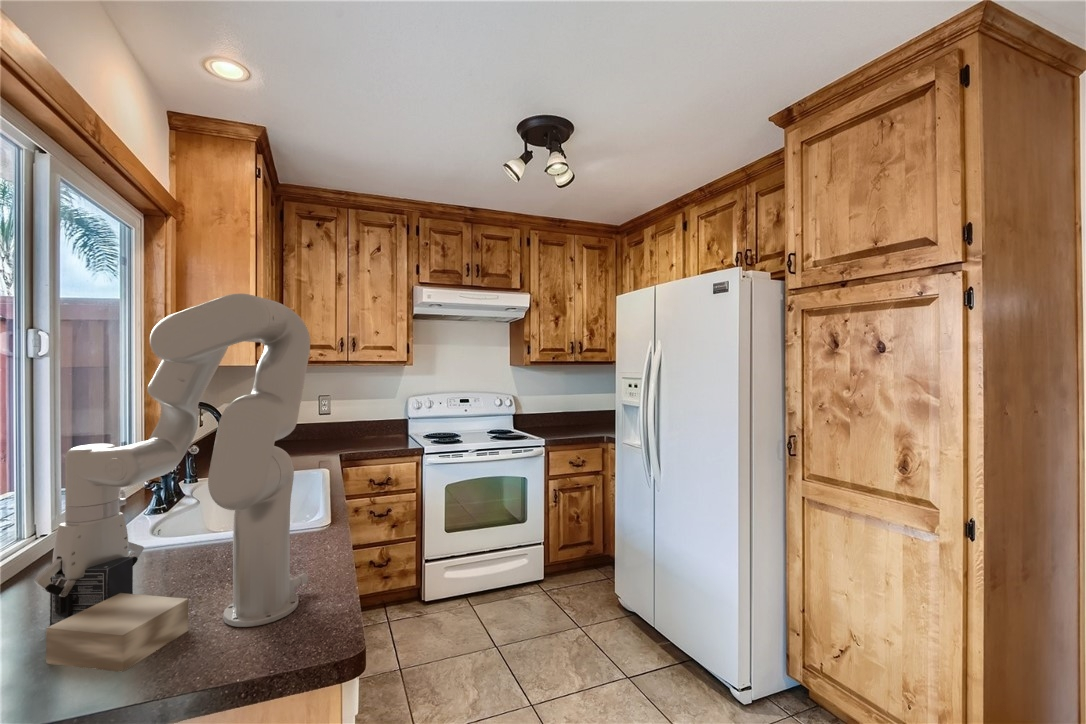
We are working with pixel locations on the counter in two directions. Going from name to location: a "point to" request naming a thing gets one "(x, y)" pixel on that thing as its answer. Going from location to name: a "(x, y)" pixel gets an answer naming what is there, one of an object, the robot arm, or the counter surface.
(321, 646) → the counter surface
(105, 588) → the small box
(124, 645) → the birch block
